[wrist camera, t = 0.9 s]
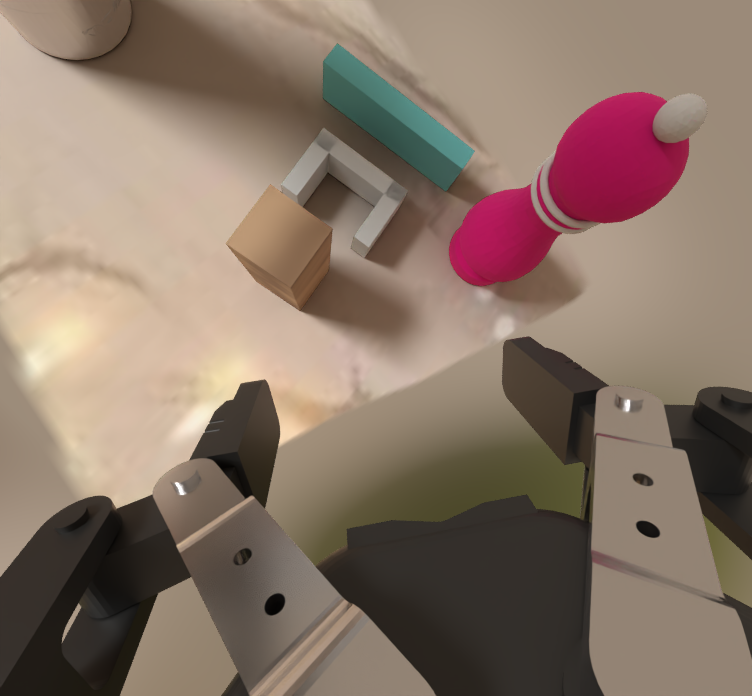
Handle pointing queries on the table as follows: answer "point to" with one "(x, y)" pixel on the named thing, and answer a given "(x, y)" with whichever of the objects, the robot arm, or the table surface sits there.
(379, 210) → the frame
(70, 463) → the table surface
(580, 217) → the pepper mill
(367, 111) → the wall
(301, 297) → the peg
